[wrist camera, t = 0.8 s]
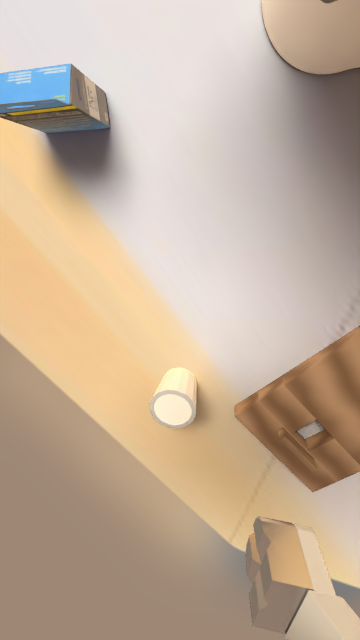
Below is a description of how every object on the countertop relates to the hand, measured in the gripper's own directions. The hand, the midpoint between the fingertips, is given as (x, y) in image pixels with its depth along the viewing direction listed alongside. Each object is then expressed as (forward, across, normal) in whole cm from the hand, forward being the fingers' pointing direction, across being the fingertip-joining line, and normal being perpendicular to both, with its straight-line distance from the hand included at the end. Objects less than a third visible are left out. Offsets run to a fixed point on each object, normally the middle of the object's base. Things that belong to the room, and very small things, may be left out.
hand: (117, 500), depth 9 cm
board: (+35, -26, +16) cm, 47 cm away
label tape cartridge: (+35, +17, -17) cm, 43 cm away
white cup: (+37, -2, +18) cm, 41 cm away
